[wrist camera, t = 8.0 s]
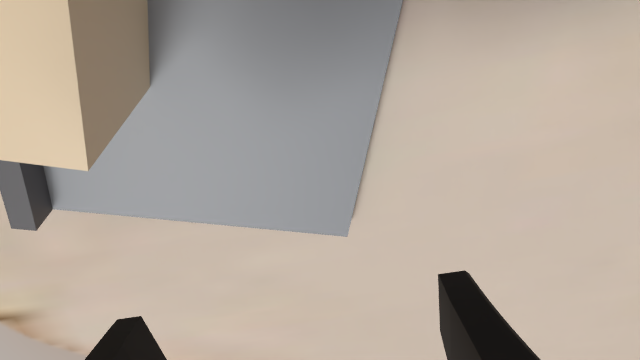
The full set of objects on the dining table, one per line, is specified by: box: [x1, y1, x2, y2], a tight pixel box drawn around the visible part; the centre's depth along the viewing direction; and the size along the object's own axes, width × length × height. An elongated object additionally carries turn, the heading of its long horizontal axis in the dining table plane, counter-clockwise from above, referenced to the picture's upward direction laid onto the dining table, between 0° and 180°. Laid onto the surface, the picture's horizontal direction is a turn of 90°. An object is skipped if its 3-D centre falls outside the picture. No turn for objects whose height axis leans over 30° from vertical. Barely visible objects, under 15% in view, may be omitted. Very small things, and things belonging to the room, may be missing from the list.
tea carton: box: [0, 0, 150, 171], centre depth 13 cm, size 7×4×6 cm, turn 170°
